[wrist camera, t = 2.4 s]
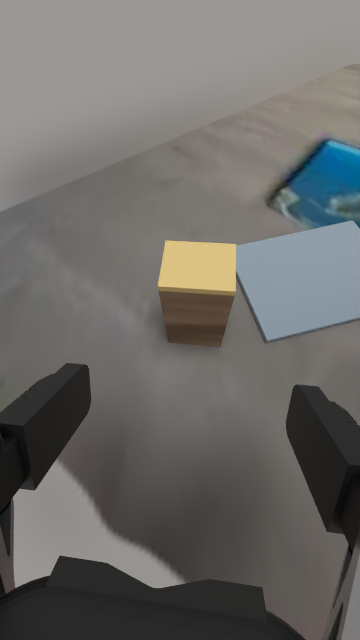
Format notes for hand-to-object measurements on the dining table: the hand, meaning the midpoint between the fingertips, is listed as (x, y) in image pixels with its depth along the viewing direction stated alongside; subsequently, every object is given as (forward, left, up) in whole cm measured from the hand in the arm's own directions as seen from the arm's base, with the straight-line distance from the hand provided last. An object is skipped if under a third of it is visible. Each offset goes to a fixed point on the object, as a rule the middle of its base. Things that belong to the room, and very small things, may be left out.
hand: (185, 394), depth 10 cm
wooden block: (-3, -9, -13) cm, 16 cm away
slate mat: (-17, -11, -13) cm, 24 cm away
